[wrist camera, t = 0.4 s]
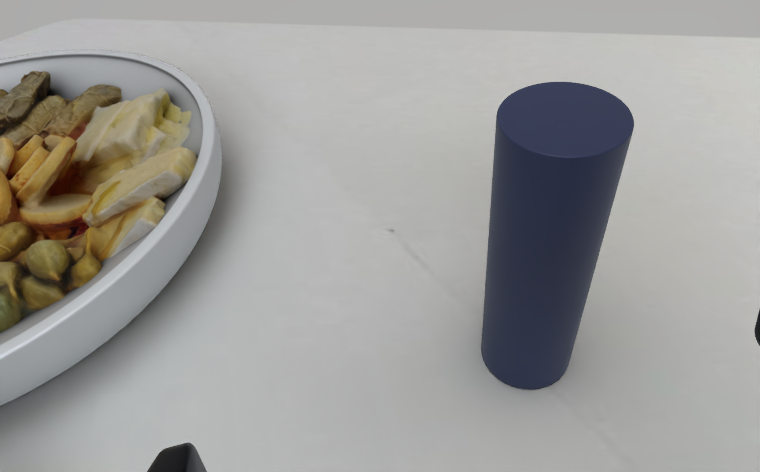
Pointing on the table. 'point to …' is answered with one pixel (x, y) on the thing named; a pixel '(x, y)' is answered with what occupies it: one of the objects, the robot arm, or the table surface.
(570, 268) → the navy round peg
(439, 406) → the table surface
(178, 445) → the robot arm
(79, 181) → the bowl
